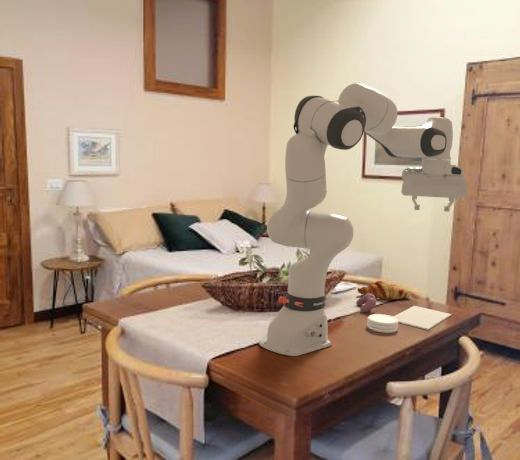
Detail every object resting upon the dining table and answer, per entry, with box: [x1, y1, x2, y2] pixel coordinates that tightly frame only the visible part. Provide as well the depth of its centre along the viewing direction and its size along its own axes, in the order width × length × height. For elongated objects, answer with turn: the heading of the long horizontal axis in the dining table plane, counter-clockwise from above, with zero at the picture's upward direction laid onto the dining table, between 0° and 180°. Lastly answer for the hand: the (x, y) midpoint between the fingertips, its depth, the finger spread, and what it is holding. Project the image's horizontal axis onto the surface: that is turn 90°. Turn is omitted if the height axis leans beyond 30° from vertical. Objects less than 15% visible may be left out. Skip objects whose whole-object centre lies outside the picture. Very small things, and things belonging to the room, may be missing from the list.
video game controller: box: [355, 293, 377, 313], centre depth 190 cm, size 10×5×7 cm, turn 179°
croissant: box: [357, 280, 412, 301], centre depth 207 cm, size 21×10×8 cm, turn 87°
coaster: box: [366, 313, 399, 334], centre depth 170 cm, size 10×10×4 cm
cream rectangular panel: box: [393, 305, 452, 331], centre depth 182 cm, size 22×14×1 cm, turn 141°
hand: (431, 210), depth 169 cm, fingers open, 8 cm apart
